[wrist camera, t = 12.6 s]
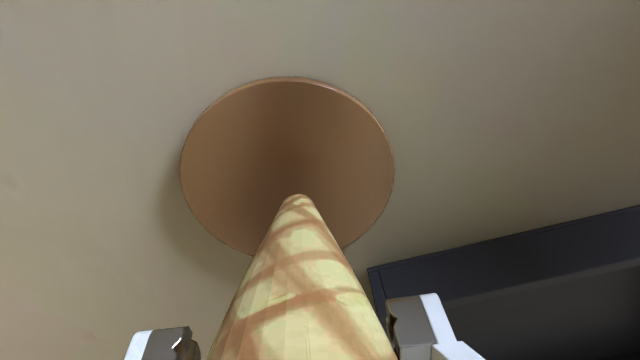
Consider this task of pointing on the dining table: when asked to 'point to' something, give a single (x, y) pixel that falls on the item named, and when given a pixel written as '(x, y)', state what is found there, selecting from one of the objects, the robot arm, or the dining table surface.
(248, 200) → the coaster
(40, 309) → the dining table surface
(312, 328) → the ice cream cone
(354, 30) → the dining table surface
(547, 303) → the tray
